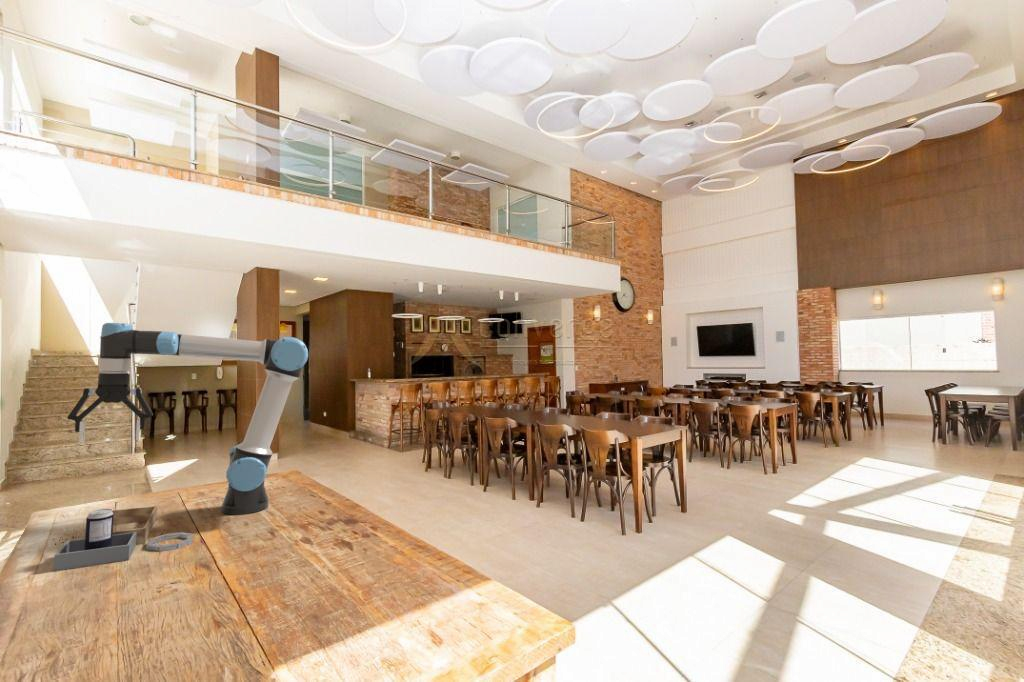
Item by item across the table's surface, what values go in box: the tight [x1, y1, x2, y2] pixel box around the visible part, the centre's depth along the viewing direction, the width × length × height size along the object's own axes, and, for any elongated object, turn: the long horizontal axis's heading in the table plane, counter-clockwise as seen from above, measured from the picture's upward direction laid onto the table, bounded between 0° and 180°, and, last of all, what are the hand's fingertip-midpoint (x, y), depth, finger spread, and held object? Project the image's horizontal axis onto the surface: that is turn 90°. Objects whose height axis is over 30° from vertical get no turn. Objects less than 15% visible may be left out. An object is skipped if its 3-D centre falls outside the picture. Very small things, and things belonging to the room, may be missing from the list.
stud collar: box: [145, 531, 194, 552], centre depth 142 cm, size 11×11×1 cm
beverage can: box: [84, 508, 114, 550], centre depth 131 cm, size 6×6×12 cm
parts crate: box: [112, 505, 158, 546], centre depth 148 cm, size 13×24×4 cm, turn 30°
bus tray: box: [53, 532, 137, 572], centre depth 131 cm, size 15×11×4 cm
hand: (110, 441), depth 148 cm, fingers open, 13 cm apart
